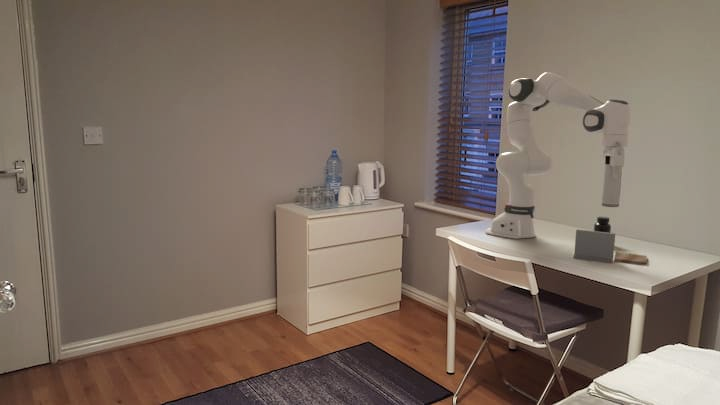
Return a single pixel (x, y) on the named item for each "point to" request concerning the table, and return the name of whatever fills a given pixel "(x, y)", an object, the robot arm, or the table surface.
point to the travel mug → (611, 186)
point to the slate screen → (594, 246)
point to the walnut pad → (630, 258)
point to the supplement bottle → (602, 225)
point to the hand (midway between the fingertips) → (612, 177)
